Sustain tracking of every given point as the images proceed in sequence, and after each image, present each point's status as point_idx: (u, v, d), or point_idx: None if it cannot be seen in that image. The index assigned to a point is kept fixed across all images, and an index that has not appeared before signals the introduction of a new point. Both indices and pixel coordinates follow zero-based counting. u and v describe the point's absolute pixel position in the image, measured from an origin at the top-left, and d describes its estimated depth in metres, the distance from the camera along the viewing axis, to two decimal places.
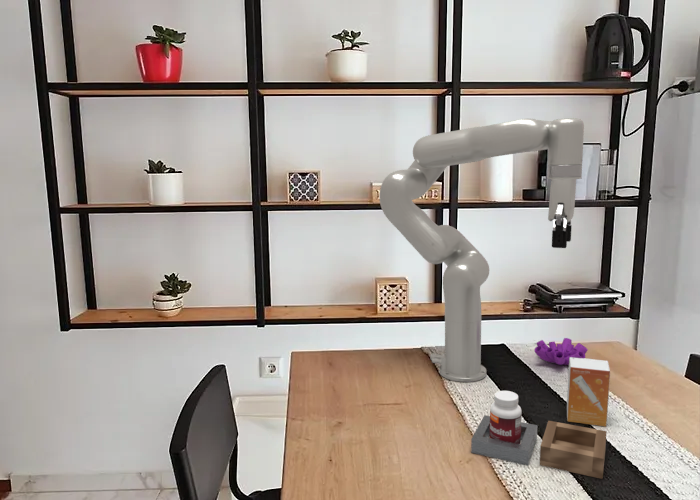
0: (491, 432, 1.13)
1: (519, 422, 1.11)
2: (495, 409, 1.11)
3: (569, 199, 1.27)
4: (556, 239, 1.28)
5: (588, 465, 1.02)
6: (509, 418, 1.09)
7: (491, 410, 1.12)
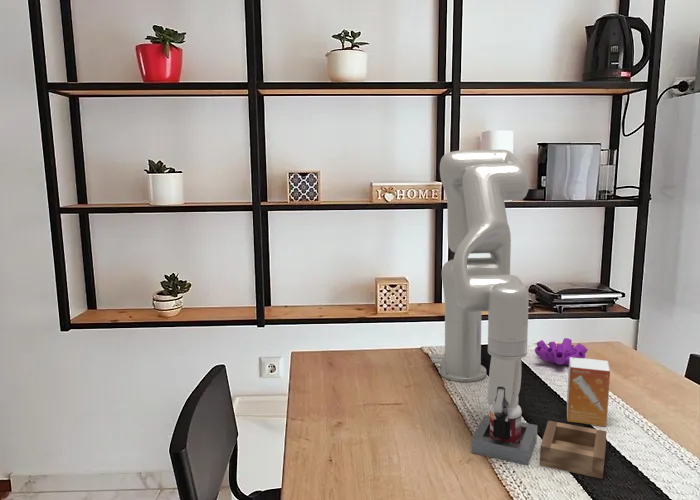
0: (491, 432, 1.13)
1: (519, 422, 1.11)
2: None
3: (511, 384, 1.06)
4: (498, 429, 1.09)
5: (588, 465, 1.02)
6: (509, 418, 1.09)
7: (491, 410, 1.12)
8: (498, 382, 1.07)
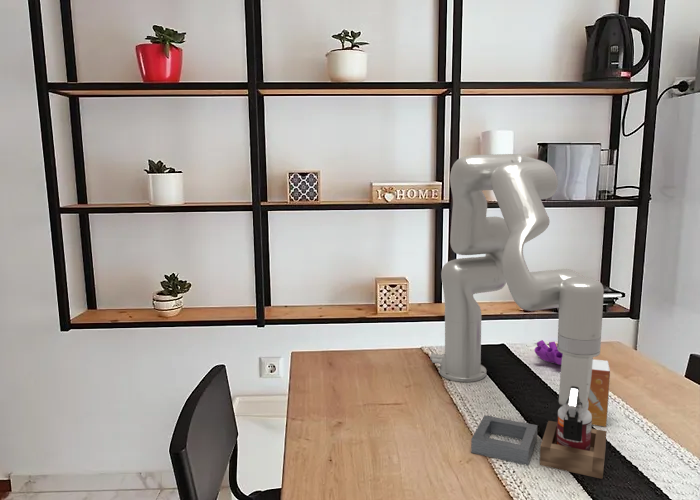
0: (559, 438, 1.08)
1: (590, 428, 1.06)
2: (564, 414, 1.06)
3: (585, 383, 1.01)
4: (569, 430, 1.03)
5: (588, 465, 1.02)
6: None
7: (559, 415, 1.07)
8: (571, 381, 1.02)
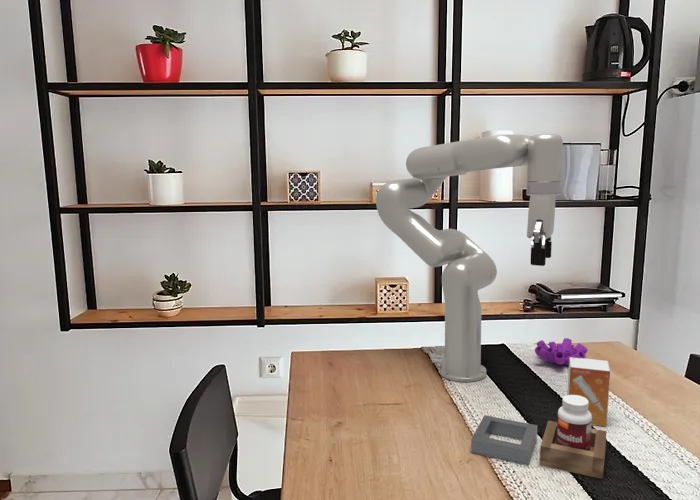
0: (559, 438, 1.08)
1: (590, 428, 1.06)
2: (564, 414, 1.06)
3: (548, 216, 1.25)
4: (535, 257, 1.26)
5: (588, 465, 1.02)
6: (580, 424, 1.04)
7: (559, 415, 1.07)
8: (536, 216, 1.25)
